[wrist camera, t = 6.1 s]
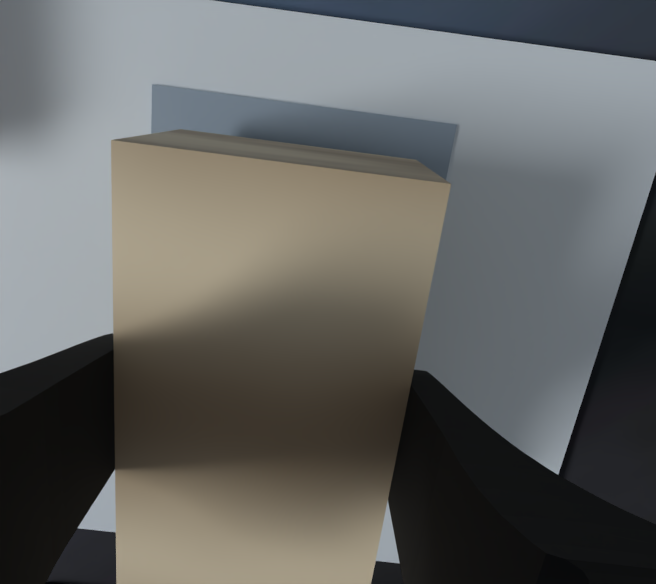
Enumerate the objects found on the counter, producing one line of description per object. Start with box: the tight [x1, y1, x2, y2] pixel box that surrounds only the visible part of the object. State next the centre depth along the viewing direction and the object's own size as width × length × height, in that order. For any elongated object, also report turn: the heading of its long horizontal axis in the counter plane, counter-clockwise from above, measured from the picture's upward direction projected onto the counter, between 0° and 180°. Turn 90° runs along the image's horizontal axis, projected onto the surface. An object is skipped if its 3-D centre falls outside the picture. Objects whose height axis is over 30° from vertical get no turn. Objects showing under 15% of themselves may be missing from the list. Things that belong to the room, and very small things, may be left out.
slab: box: [111, 129, 451, 584], centre depth 12 cm, size 10×6×4 cm, turn 173°
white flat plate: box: [0, 0, 656, 563], centre depth 15 cm, size 16×18×1 cm
